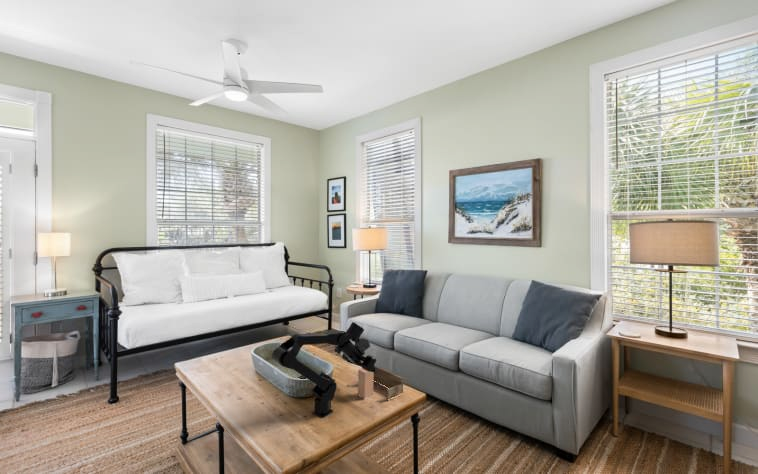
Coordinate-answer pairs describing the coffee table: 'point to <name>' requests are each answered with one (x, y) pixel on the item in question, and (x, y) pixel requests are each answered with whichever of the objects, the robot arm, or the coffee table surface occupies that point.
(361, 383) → the terracotta block
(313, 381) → the robot arm
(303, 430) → the coffee table surface
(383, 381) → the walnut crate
